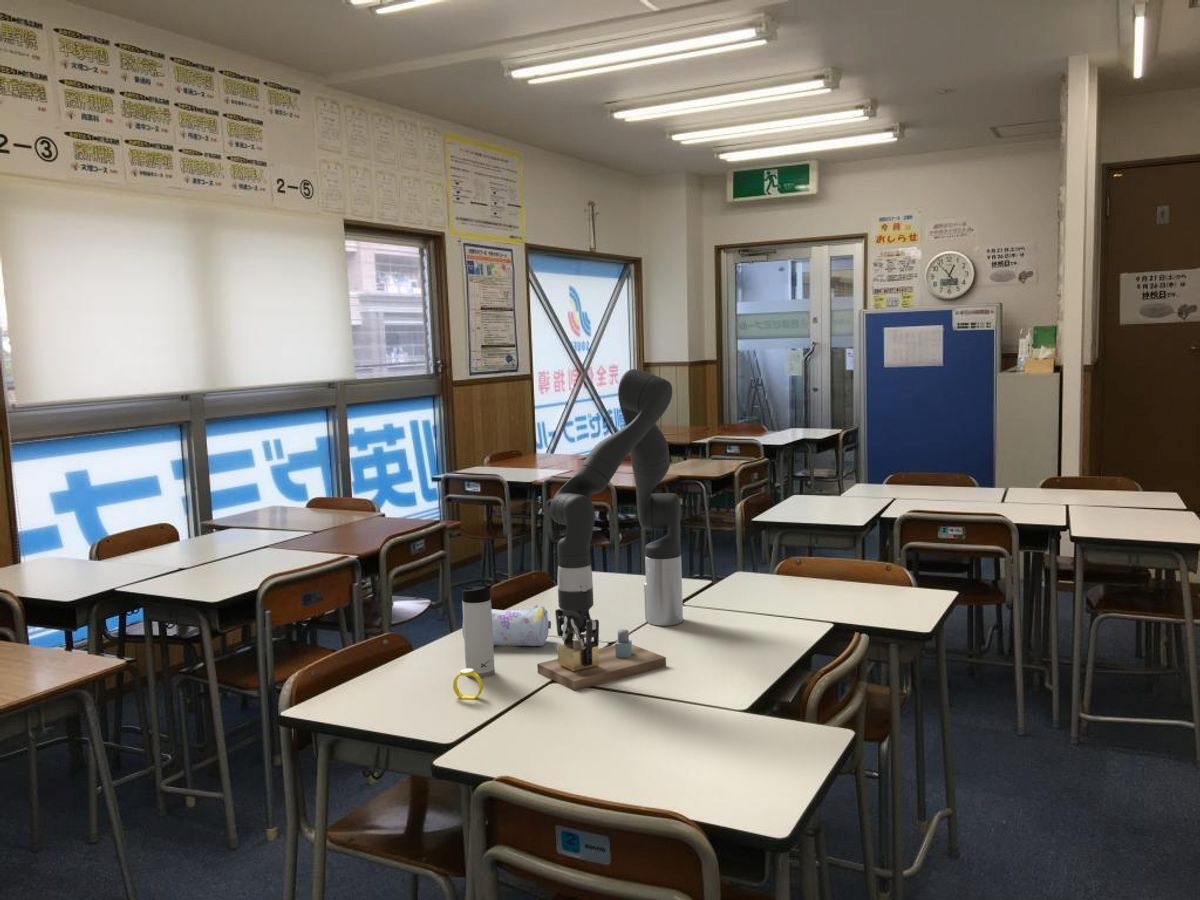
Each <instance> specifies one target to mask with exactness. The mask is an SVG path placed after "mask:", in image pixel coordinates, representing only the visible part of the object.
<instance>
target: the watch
mask: <svg viewBox="0 0 1200 900" xmlns="http://www.w3.org/2000/svg"><path fill="white" fill-rule="evenodd" d="M469 675H472V676H473V677H475V678H474V679H475V680H476V681H477V683H478V689H479V690H478V692H477V694H476V695H464V694H463V693H461V691H460V690H459V688H458V680H459V677H461V676H463V677H468V676H469ZM452 689H453V691H454V694H455V695H456V696H457V697H458V698H459V699H460V700H474V699H475V700H476V699H477V698H478V697H479V696H480V695H481V694H482V691H483V689H484V683H483V678H480V676H479V675H478V674H477V673H475V672H474V670H473V669H471V668H467V669H466V668H463V669H461V670H460V671H459V673H458V674H457V675H456V676H455V677H454V679H453V683H452Z"/></svg>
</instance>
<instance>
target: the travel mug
mask: <svg viewBox="0 0 1200 900" xmlns="http://www.w3.org/2000/svg"><path fill="white" fill-rule="evenodd" d="M492 588H493V585H492V583H479V584H478V583H477V584H474V585H470V586H467V587H464V589H462V590H461V594H462V595H461V597H462V598H461V599H462V601H461V603H462V618H463V619H462V626H463V625H464V637H463V641H464V642H463V643H464V659H465V669H467V668H471V669H473V670H474V672H475V673H477V674H478V675H479V676H480V678H481V679H485V678H488V677H491V676H493V675H494V674H495V672H496V669H495V652H494V645H493V628H492V609H493V608H492V602H491V601H492V597H491V589H492ZM467 677H468V678H472V679H476V678H475V677H473V676H472V675H469V676H467Z"/></svg>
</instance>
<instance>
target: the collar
mask: <svg viewBox="0 0 1200 900" xmlns="http://www.w3.org/2000/svg"><path fill="white" fill-rule="evenodd" d="M585 643H586V641H585ZM556 647H557V659H558V664H560V665H562V666H564V667H566V668H568V669H570V670H572V671H577V670H581V669H585V668H589V667H593V666H597V665H599V650H598V649H599V645H598V646H597V647H593V648H592V665H589V666H583V665H582V651H581V649H579V650H573V643H568V644H564V643H563V644H561V645H560V644H559V645H557V646H556Z"/></svg>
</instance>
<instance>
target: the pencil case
mask: <svg viewBox="0 0 1200 900" xmlns="http://www.w3.org/2000/svg"><path fill="white" fill-rule="evenodd" d="M491 609H492V628H493V646H506V647H507V646H510V647H516V646H520V647H523V646H525V647H528V646H529V647H536V646H537V647H542V646H544V645H545V644H546V642H547V640H548V637H549V636H548V635H549V629H552V627H551V626H552V621H551V620H549V618H548V617H549V616H548V610H547V609H546V608H545V606H539V605H538V604H537V605H534V606H533V607H532V608H523V609H517V610H516V609H515V610H513V609H512V610H507V609H504V610H503V609H494V608H491ZM461 629H462V630H461V631H462V637H463V638H464V625H463V624H462V628H461Z"/></svg>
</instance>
